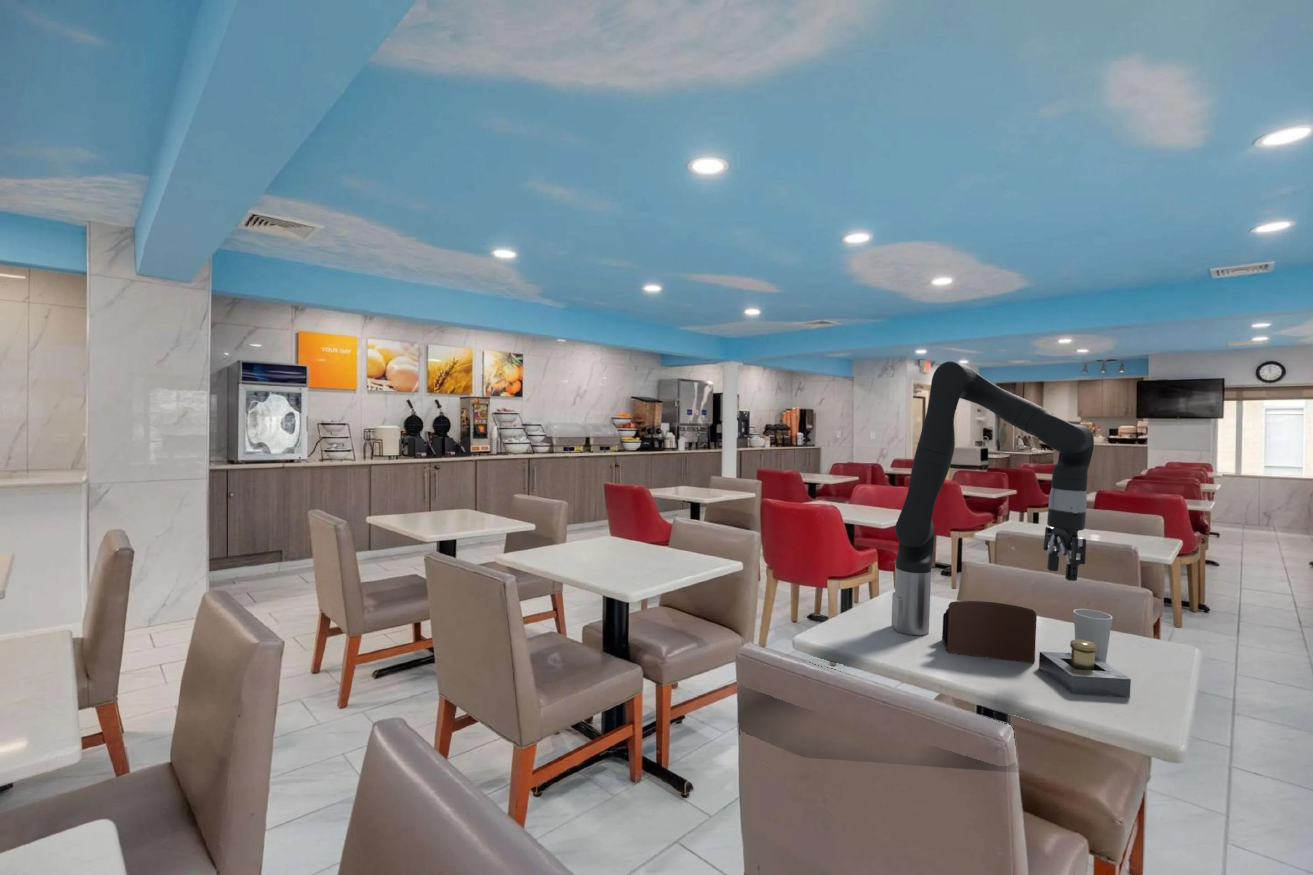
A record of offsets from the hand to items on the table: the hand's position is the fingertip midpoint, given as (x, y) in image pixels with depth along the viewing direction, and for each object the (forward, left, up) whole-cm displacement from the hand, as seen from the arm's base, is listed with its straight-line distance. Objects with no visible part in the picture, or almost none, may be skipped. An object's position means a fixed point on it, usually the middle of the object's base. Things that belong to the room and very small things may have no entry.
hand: (1061, 575), depth 151 cm
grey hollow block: (+2, -7, -23) cm, 24 cm away
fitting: (+2, -7, -23) cm, 24 cm away
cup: (+11, +6, -23) cm, 26 cm away
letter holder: (-13, +9, -23) cm, 28 cm away
